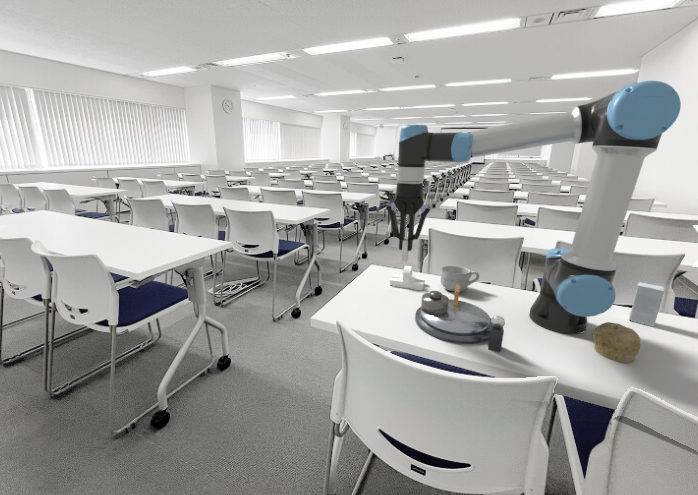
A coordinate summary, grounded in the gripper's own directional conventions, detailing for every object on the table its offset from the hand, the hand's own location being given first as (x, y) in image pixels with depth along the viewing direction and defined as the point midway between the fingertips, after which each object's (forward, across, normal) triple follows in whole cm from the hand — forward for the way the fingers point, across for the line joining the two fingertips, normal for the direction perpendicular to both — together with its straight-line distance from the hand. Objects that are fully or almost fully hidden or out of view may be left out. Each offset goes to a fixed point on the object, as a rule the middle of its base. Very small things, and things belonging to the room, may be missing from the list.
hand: (404, 260), depth 100 cm
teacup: (+18, -16, -28) cm, 37 cm away
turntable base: (+18, -16, 0) cm, 24 cm away
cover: (+15, -10, 0) cm, 18 cm away
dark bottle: (+18, -27, +10) cm, 34 cm away
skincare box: (+18, -71, -23) cm, 77 cm away
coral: (+18, -56, +1) cm, 59 cm away
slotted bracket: (+19, +3, -25) cm, 31 cm away
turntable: (+17, -16, -1) cm, 23 cm away
